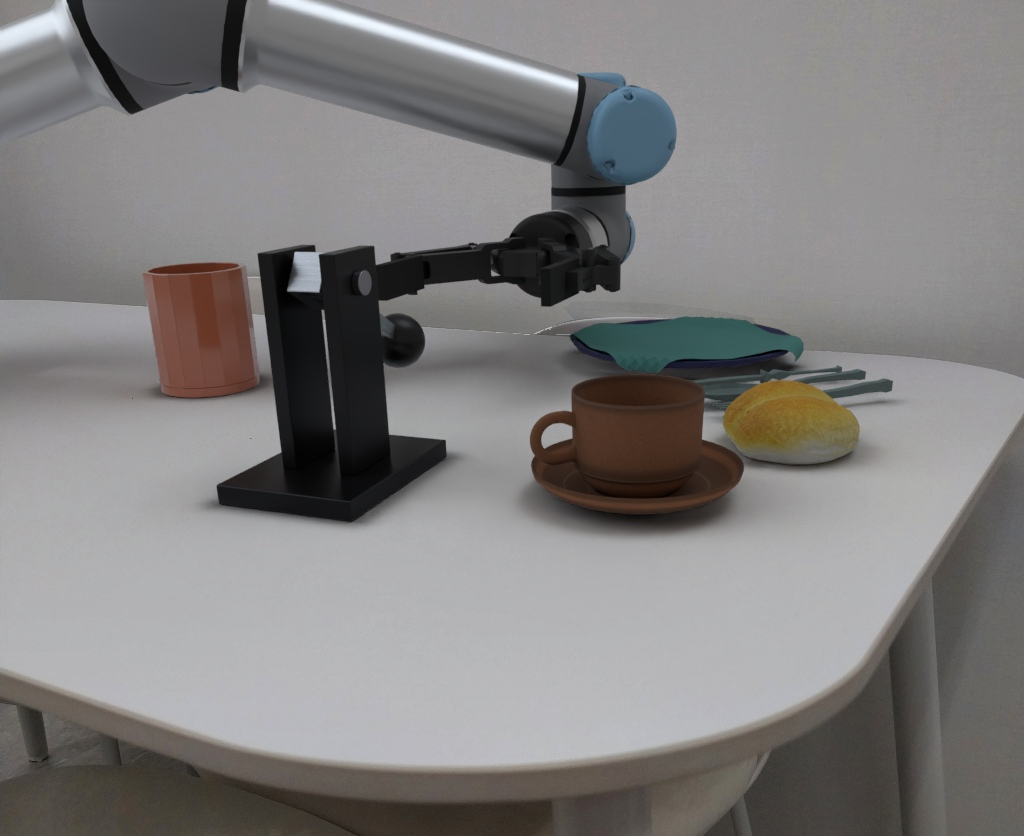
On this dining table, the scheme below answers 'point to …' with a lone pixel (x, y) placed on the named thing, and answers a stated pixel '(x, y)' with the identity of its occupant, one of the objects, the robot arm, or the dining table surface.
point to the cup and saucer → (634, 448)
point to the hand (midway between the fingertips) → (460, 285)
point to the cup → (202, 328)
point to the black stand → (328, 397)
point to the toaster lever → (397, 330)
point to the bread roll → (790, 424)
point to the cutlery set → (710, 353)
